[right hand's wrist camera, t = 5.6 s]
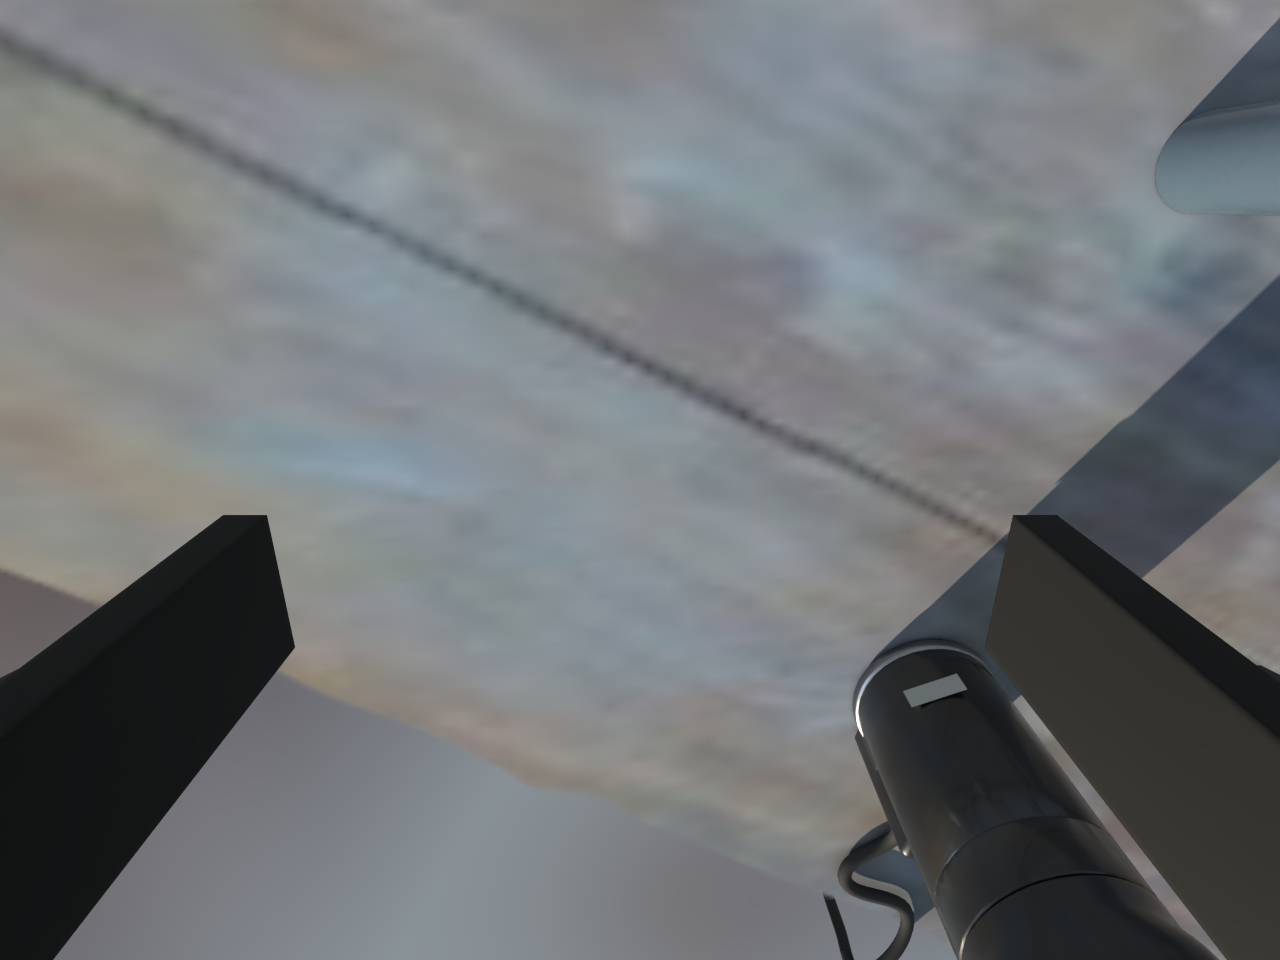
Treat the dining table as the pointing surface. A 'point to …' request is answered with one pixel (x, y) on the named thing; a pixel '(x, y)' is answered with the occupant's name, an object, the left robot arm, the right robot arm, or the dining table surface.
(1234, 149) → the bottle
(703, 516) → the dining table surface
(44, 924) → the right robot arm
